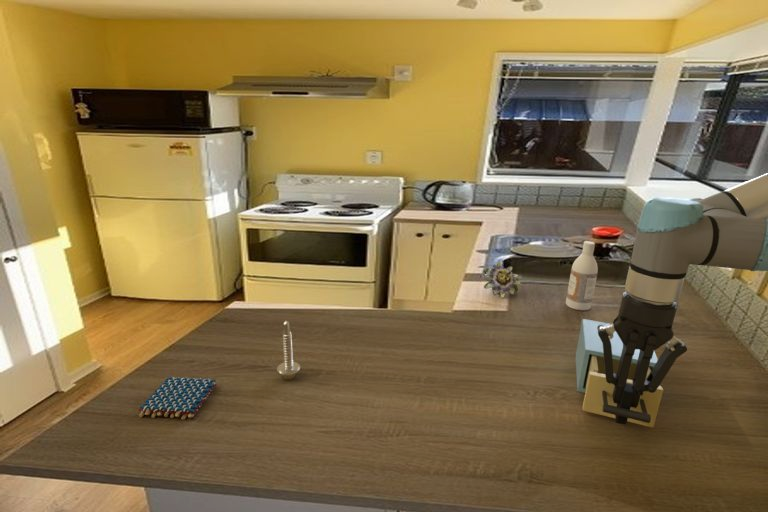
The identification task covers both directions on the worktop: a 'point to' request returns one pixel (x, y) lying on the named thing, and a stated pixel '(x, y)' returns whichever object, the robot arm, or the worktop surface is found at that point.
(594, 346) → the blue drawer cabinet
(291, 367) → the screw
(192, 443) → the worktop surface
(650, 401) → the drawer
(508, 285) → the passion flower
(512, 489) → the worktop surface
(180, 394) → the woven mat
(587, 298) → the bath foam
